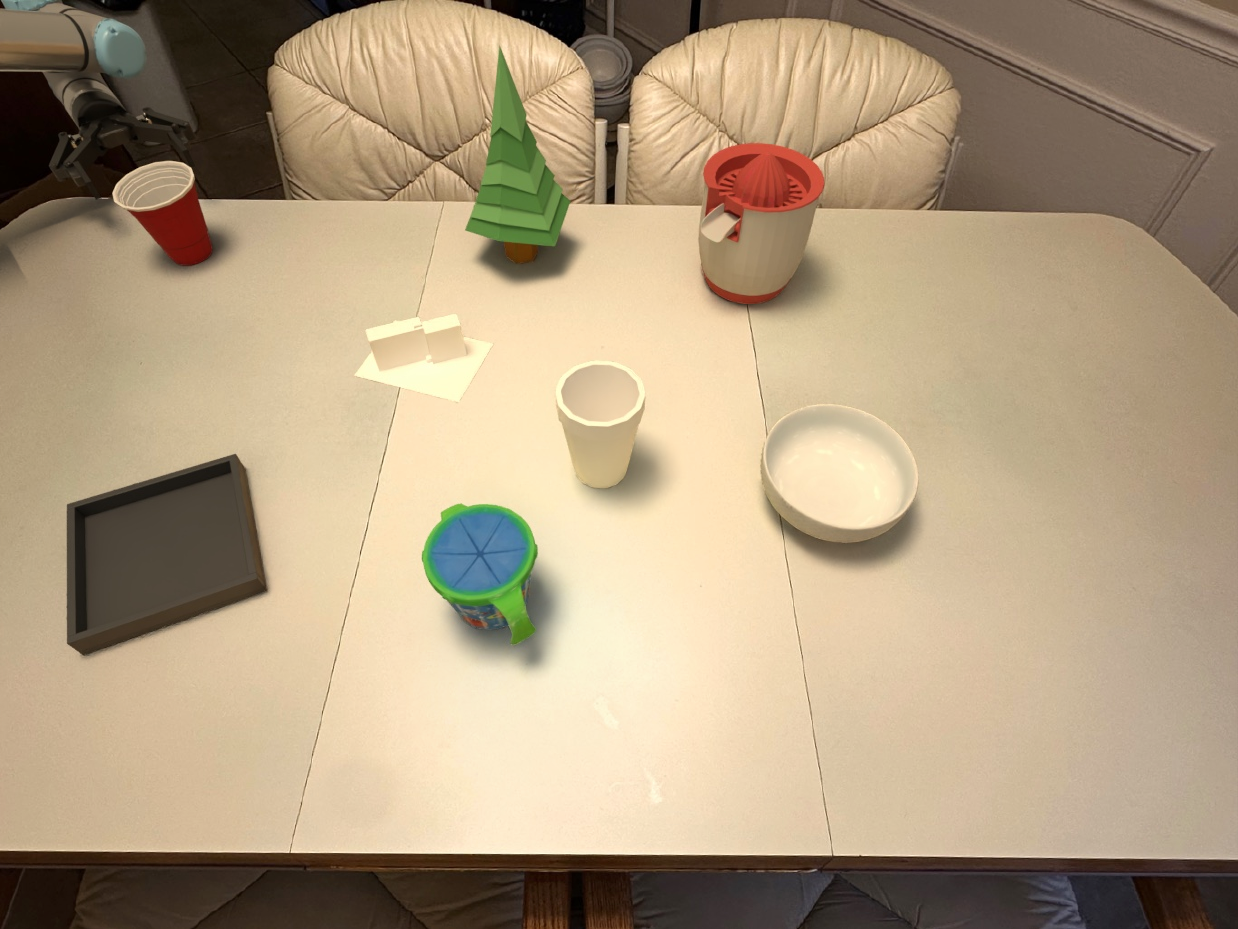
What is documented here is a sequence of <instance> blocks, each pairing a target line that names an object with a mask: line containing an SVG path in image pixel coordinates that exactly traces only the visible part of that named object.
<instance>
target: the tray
mask: <svg viewBox="0 0 1238 929" xmlns="http://www.w3.org/2000/svg"><path fill="white" fill-rule="evenodd" d="M247 477H248V476H247V471H246V467H245V465H244V464H243V462H242V460H241V459H240V458H239V457H238V455H237V453H233V454H229V455H226V456H223V457H219V458H217V459H213V460H210V461H206V462H203V463H200V464H195V465H193V466H190V467H185V468H183V469H180V470H176V471H173V472H170V473H166V474H163V475H160V476H155V477H153V478H149V479H146V480H142V481H139V482H135V483H133V484H130V485H127V486H126V485H125V486H123V487H120V488H116V489H113V490H110V491H109V490H108V491H106V492H103V493H100V494H96V495H93V496H89V497H86V498H83V499H80V500H76V501H73V502H70V503H67V504H66V644H67V646H69V647H71V648H73V649H74V650H75V651H76V652H78V653H79V654H81V656H85V655H89V654H91V653H93V652H96V651H97V652H98V651H99V650H102V649H105V648H108V647H111V646H114V645H117V644H120V643H123V642H125V641H128V640H131V639H134V638H136V637H137V638H138V637H140V636H143V635H145V634H148V633H151V632H154V631H157V630H160V629H162V628H165V627H167V626H172V625H174V624H176V623H179V622H183V621H185V620H189V619H191V618H194V617H198V616H200V615H203V614H205V613H208V612H211V611H214V610H216V609H219V608H222V607H225V606H228V605H231V604H234V603H236V602H240V601H243V600H245V599H249V598H252V597H255V596H257V595H260V594H263V593H265V592H268V587H267V581H266V576H265V570H264V564H263V560H262V553H261V548H260V542H259V538H258V532H257V526H256V521H255V515H254V514H255V513H254V508H253V504H252V498H251V493H250V487H249V481H248V478H247Z"/></svg>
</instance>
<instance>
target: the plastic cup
mask: <svg viewBox="0 0 1238 929" xmlns="http://www.w3.org/2000/svg"><path fill="white" fill-rule="evenodd" d="M192 168H193V167H189V165H188V164H187V163H184V162H180V161H173V160H164V161H155V162H152V163H149V164H146V165H143V166H139V167H138V168H136V169H133V170H132V171H130V172H129V173H127V174H125V175H124V176H123V177H122V178H121V179H120V180H119V181H118V182H117V183H116V184H115V186H114V189H113V191H112V198H113V202H114V203H115V204H116V205H118V206H120V208H122V209H123V210H125V211H127V212H129V214H131V216H133V217H134V218H135V219H136V221H138V223H139V224H140V225H141V226H142V227H143V229H144V230H145V231H146V232H147V233H148V234H149V235H150V236H151V238H152V239H153V241H155V243H156V244H158V245H159V246H160V247H161V249H162V250H163V251H164V253H165V254H166V255H167V256H168V258H170V259H171V260H172V261H173V262H174V263H176V264H177V265H181V266H193V265H197V264H200V263H202V262H204V261H206V260H207V259H208V258H209V257H211V255H212V253H213V245H212V242H211V239H210V238H211V237H210V235H209V228H208V225H207V223H206V220H205V219H206V218H205V216H204V213H203V209H202V207H201V204H200V201H199V200H200V199H199V195H198V192H197V187H196V184H195V181H196V178H195V174H194V172H193V169H192Z"/></svg>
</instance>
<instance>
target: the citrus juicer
mask: <svg viewBox="0 0 1238 929" xmlns="http://www.w3.org/2000/svg"><path fill="white" fill-rule="evenodd" d="M702 176H703V180H704V182H703V191H702V200H701V209H700V217H699V226H698V239H697V242H698V251H699V252H698V253H699V257H700V265H701V270H702V273H703V276H704V279H705V281H706V283H707V286H708V287H709V288H710V290H711V291H712V292H714V293H715V294H716V295H718V296H719V297H721V298H723V299H724V300H727V301H730V302H734V303H738V304H744V305H753V304H754V305H755V304H760V303H761V304H763V303H765V302H768V301H771V300H772V299H774V298H776V297H777V296H778V295H779V294H781V292H782V291H783V290H784V289H785V288H786V287H787V285H788V284H789V283H790V281H791V280H792V278H793V275H794V274H795V273H796V271H797V269H798V267H799V265H800V263H801V261H802V259H803V257H804V254H805V251H806V247H807V244H808V241H809V238H810V233H811V230H812V226H813V223H814V218H815V215H816V211H817V207H818V202H819V199H820V196H821V195H822V194H823V191H824V188H825V177H824V174H823V172H822V169H821V168H820V167H819V166H818V164H817V163H816V162H814V160H812V159H811V158H810V157H808V156H806V155H805V154H803V153H801V152H799V151H796V150H794V149H792V148H790V147H789V148H788V147H785V146H782V145H777V144H773V143H764V142H763V143H762V142H747V143H740V144H735V145H732V146H727V147H724V148H723V149H721V150H718V151H716V152H715V153H714V154H713V155H711V156H710V157H709V159H708V160H707V161H706V163H705V165H704V167H703V172H702Z"/></svg>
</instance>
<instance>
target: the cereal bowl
mask: <svg viewBox="0 0 1238 929" xmlns="http://www.w3.org/2000/svg"><path fill="white" fill-rule="evenodd" d="M760 455H761V456H760V457H761V458H760V466H759V468H760V476H761V477H760V478H761V479H760V480H761V483H762V487H763V489H764V493H765V495H766V498H767V499H768V500H769V502H770V504H771V505H772V507H773V508H774V510H775V511H776V512H777V513H778V514H779V515H780V517H782V518H783V519H784V520H785V521H786V522H787V523H788V524H790V525H791V526H792V527H794V528H796V529H797V530H799V531H801V533H804V534H806V535H808V536H811V537H812V538H816V539H819V540H821V541H826V542H832V543H844V544H846V543H847V544H849V543H858V542H864V541H868V540H871V539H873V538H877V537H879V536H880V535H882V534H884V533H886V532H887V531H889V530H891V529H892V528H893V527H894V526H896V524H898V523H899V522H901V520H902V518H904V517H905V515H906V514H907V513H908V512H909V509H910V508H911V506H912V505H913V503H914V501H915V498H916V496H917V493H918V488H919V480H920V479H919V469H918V464H917V460H916V459H915V456H914V454H913V452H912V450H911V449H910V447H909V445H908V444H907V442H906V441H905V440H904V438H903V437H902V436H901V435H900V434H899V433H898V432H897V431H896V430H895V429H894V428H893V427H891V426H890V425H889V424H888V423H886V422H885V421H884V420H882V419H881V418H879V417H877V416H875V415H873V414H871V413H869V412H867V411H864V410H862V409H859V408H857V407H856V408H855V407H852V406H849V405H843V404H836V403H818V404H811V405H807V406H803V407H799V408H797V409H795V410H792V411H790V412H788V413H787V414H785V415H784V416H782V417H780V419H778V420H777V421H776V422H775V423H774V424H773V426H772V427H771V428H770V430H769V431H768V433H767V435H766V437H765V440H764V442H763V447H762V450H761V454H760Z"/></svg>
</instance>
